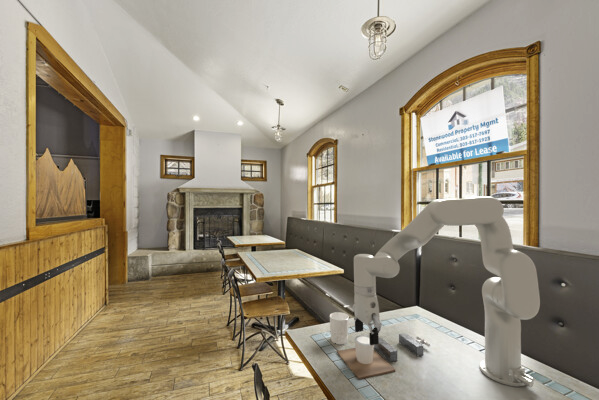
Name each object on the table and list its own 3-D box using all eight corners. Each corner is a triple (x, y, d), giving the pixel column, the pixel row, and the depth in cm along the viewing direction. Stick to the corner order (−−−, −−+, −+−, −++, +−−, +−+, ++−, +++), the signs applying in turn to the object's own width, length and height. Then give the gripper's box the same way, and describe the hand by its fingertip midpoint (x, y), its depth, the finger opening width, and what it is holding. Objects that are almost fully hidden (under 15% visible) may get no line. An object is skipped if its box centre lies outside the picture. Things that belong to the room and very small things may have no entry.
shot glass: (372, 354, 98) (372, 335, 98) (376, 365, 91) (376, 345, 91) (353, 353, 99) (353, 334, 99) (355, 364, 92) (355, 344, 92)
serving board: (395, 371, 89) (395, 369, 89) (358, 379, 85) (358, 377, 85) (369, 346, 105) (369, 345, 105) (336, 352, 100) (336, 351, 100)
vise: (434, 352, 101) (434, 343, 101) (390, 361, 95) (390, 352, 95) (415, 339, 110) (415, 331, 110) (374, 347, 104) (374, 338, 104)
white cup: (334, 346, 105) (334, 321, 105) (326, 336, 112) (326, 313, 112) (352, 343, 107) (352, 318, 107) (343, 334, 114) (344, 311, 114)
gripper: (389, 295, 88) (390, 347, 88) (361, 281, 104) (362, 325, 104) (369, 298, 86) (370, 352, 85) (344, 283, 102) (345, 328, 102)
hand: (366, 337), depth 95 cm, fingers open, 9 cm apart
